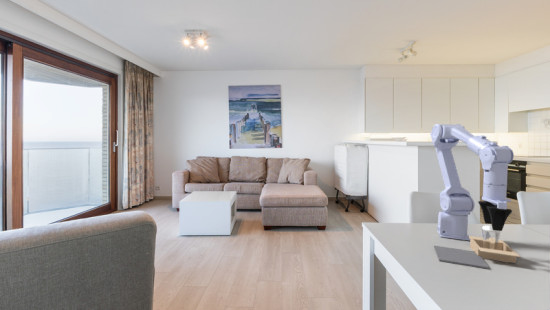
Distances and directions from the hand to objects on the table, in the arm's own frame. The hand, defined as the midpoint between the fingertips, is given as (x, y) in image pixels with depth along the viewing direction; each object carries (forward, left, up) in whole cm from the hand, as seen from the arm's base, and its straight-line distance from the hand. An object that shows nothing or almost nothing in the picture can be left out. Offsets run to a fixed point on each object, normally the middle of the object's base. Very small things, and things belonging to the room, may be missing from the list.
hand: (492, 226), depth 84 cm
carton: (0, 0, -9) cm, 9 cm away
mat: (-10, -7, -9) cm, 15 cm away
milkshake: (0, 0, -9) cm, 9 cm away
